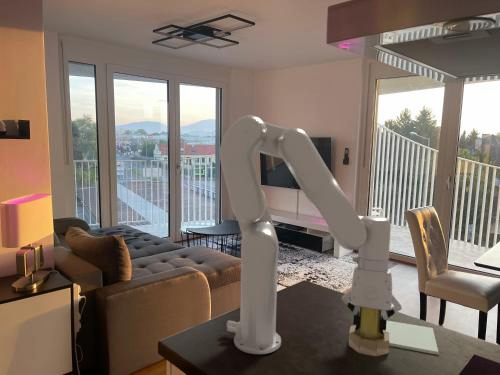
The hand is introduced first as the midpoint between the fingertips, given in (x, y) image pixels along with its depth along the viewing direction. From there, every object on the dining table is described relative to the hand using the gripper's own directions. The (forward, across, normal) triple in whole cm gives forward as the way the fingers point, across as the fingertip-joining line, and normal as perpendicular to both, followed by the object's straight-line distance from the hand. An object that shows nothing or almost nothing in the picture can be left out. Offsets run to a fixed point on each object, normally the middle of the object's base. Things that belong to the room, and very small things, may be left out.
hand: (369, 329), depth 99 cm
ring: (+4, 0, 0) cm, 4 cm away
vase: (+5, 0, 0) cm, 5 cm away
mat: (+4, +10, +9) cm, 14 cm away
